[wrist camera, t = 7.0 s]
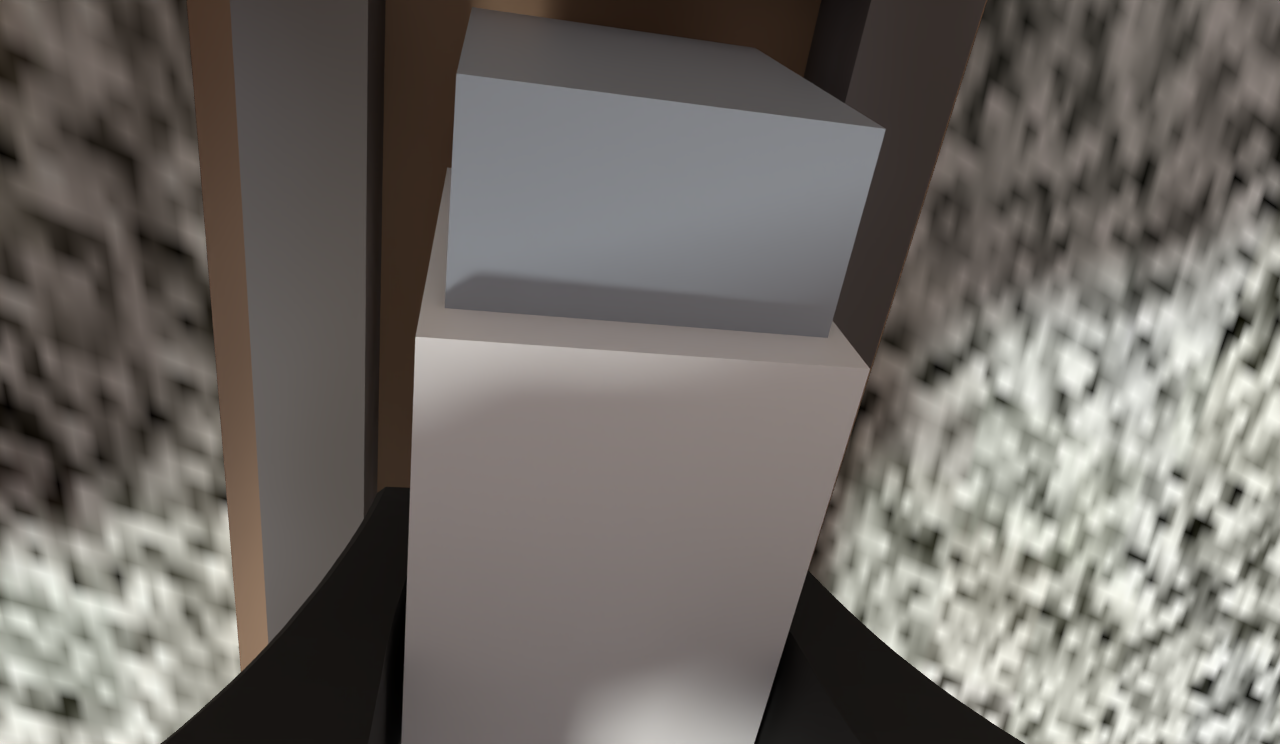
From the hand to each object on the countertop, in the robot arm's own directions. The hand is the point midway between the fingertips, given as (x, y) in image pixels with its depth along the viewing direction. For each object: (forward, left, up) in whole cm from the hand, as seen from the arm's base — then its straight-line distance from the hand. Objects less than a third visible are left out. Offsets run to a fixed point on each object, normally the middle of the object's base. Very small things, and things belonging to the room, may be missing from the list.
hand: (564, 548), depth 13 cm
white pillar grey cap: (0, 0, -2) cm, 2 cm away
